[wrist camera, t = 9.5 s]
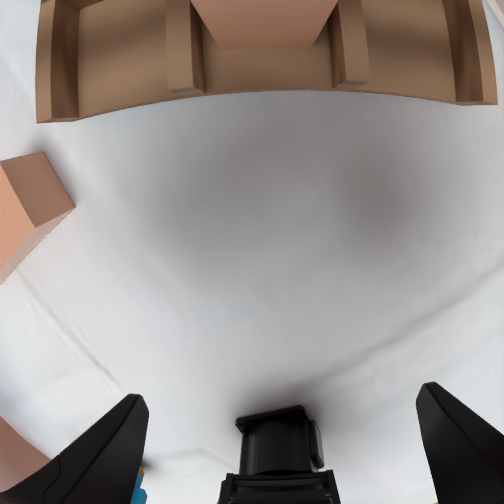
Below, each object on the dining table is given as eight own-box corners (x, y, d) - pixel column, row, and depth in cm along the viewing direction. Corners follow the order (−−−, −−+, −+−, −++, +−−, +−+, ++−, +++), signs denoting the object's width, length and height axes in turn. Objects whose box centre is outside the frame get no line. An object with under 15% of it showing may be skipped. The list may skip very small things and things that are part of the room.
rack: (461, 105, 15) (497, 104, 12) (73, 121, 17) (36, 123, 13) (444, -10, 12) (473, -27, 8) (74, 7, 14) (42, -8, 10)
